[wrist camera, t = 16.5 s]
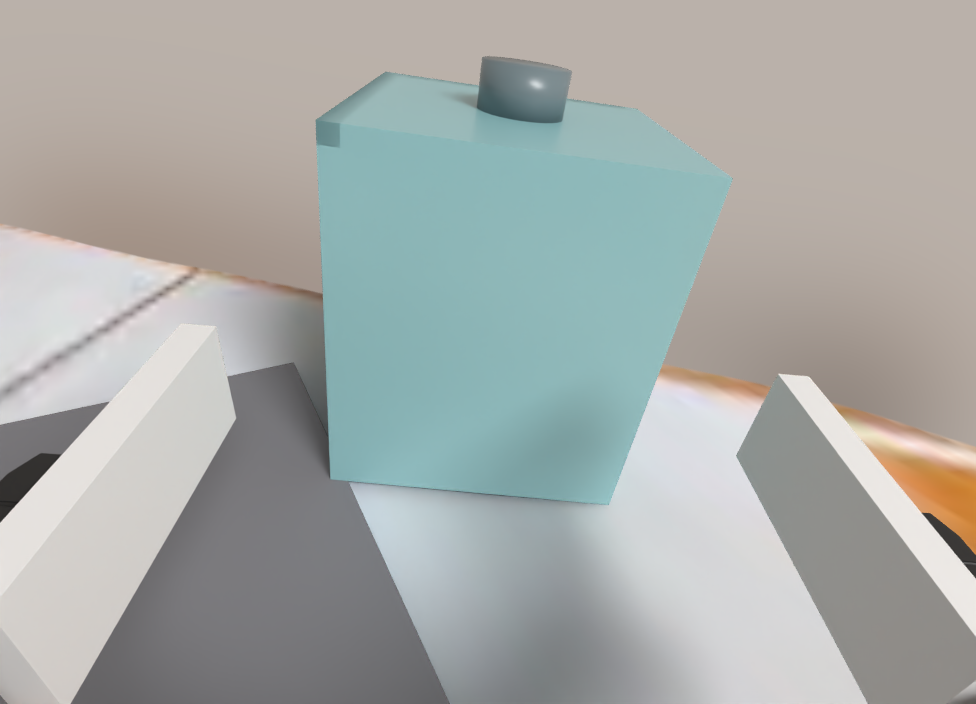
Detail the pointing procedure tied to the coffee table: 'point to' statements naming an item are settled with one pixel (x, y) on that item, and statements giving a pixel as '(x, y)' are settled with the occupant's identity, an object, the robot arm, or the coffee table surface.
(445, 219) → the teal box with knob
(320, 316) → the coffee table surface
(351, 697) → the mat
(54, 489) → the robot arm
